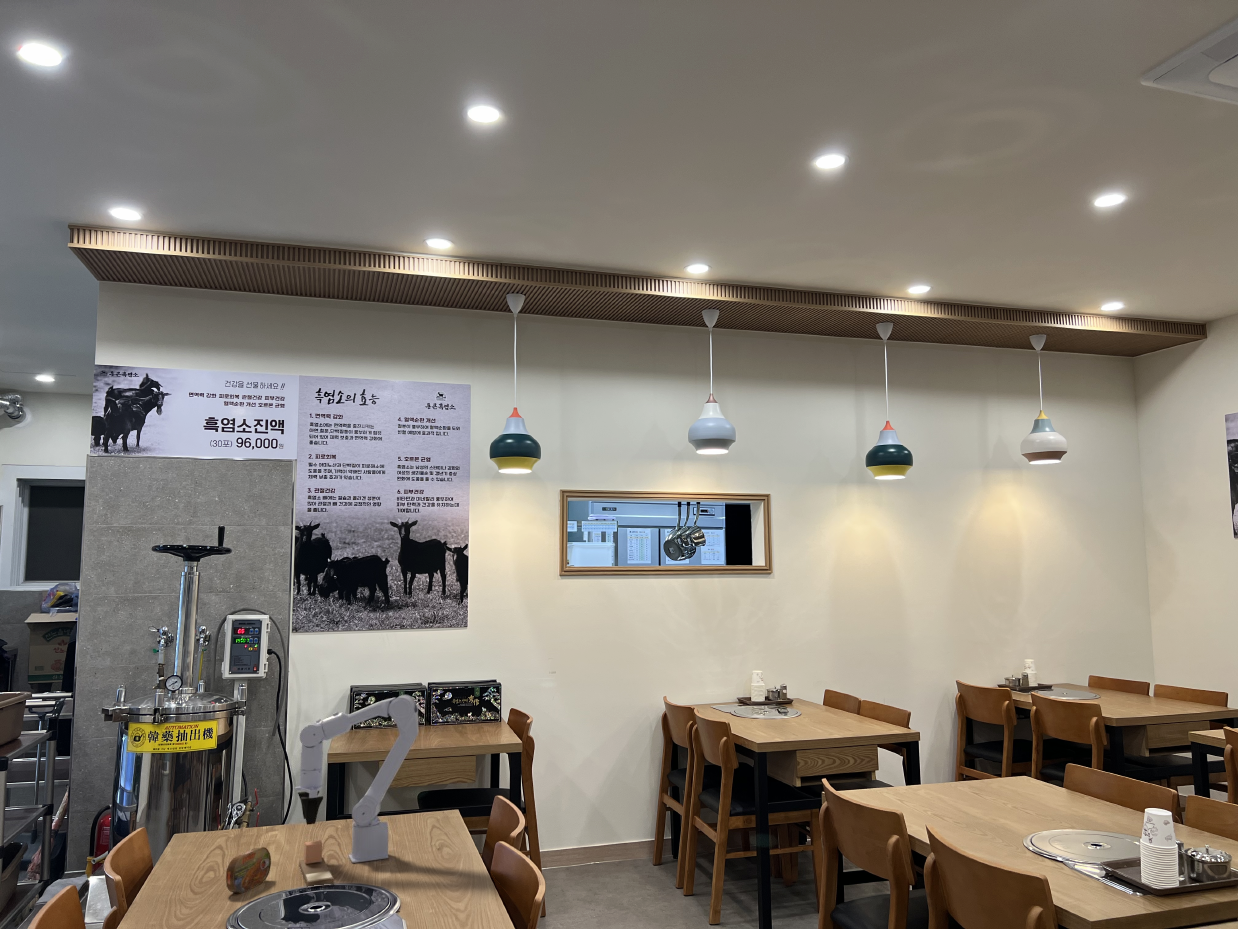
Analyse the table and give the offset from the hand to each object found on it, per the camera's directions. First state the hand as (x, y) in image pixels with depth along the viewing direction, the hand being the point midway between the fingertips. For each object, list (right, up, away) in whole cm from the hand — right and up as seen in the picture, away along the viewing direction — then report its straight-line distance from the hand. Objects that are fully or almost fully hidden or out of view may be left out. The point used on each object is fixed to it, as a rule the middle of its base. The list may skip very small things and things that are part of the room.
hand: (309, 821), depth 234 cm
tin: (-7, -7, -24) cm, 25 cm away
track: (+7, -8, -15) cm, 18 cm away
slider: (+4, -7, -8) cm, 12 cm away
